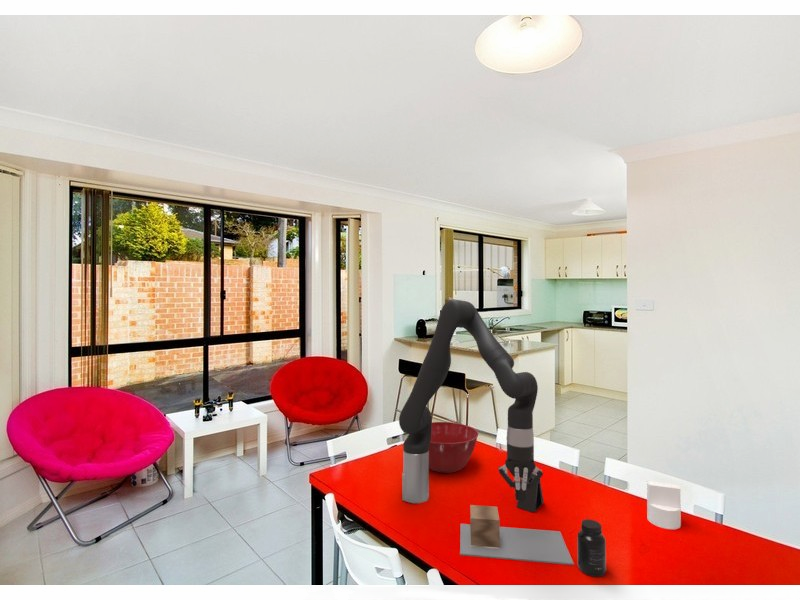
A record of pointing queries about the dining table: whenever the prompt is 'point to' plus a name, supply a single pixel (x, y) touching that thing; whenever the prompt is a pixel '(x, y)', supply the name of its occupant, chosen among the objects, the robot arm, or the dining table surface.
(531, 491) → the black coffee bag
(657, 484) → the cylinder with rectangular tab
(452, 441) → the mixing bowl
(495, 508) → the walnut block
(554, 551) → the rubber mat
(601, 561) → the supplement bottle
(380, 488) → the dining table surface
